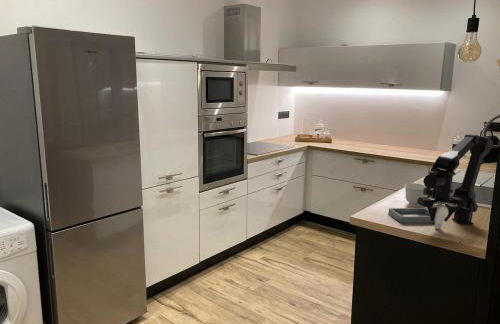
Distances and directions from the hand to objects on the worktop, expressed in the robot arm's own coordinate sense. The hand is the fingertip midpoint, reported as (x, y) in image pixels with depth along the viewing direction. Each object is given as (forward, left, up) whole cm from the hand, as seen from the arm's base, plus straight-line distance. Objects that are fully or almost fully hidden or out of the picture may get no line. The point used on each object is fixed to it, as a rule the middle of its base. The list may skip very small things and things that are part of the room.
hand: (438, 221), depth 165 cm
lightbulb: (0, 0, -4) cm, 4 cm away
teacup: (-9, -32, -4) cm, 33 cm away
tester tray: (+4, -13, -4) cm, 14 cm away
